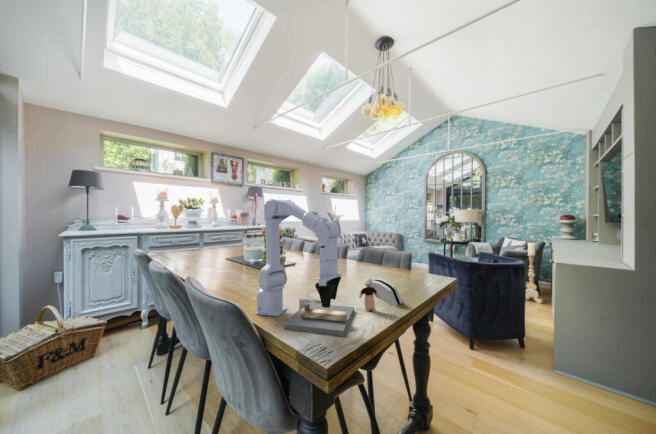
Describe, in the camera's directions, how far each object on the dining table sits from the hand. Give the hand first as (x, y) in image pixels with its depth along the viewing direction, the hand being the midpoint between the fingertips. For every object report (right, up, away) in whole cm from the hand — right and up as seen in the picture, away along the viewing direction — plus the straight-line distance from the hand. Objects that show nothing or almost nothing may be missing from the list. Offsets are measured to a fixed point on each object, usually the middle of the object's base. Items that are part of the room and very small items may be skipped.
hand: (329, 302), depth 72 cm
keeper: (-7, -8, +15) cm, 18 cm away
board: (-3, -10, +10) cm, 14 cm away
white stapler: (+25, -10, +29) cm, 40 cm away
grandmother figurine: (+16, -10, +18) cm, 25 cm away
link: (-2, -8, +7) cm, 11 cm away
